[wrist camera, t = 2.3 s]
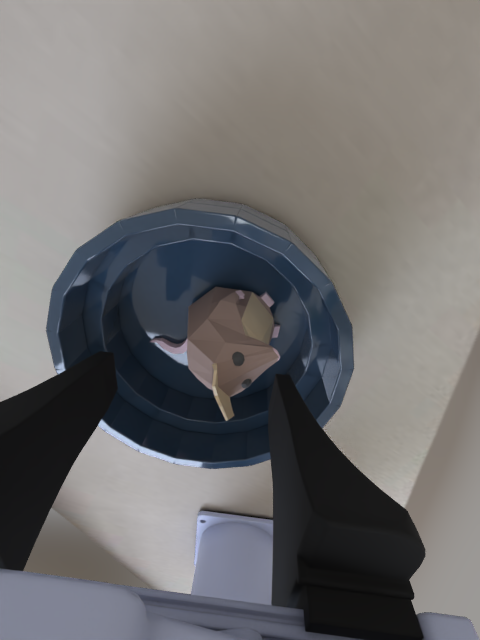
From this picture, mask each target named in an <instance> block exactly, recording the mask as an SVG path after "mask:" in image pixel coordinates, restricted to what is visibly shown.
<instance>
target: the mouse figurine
mask: <svg viewBox="0 0 480 640" xmlns="http://www.w3.org/2000/svg"><path fill="white" fill-rule="evenodd" d="M273 304H274V301H273V299H272V298H271V297H270V296H269V295H268V293H267V292H265V293H263V294H262V295H261V296H258V295H256V294H255V293H253V292H250V291H243V290H236V289H228V288H221V287H215V288H213V289H212V290H210V291H209V292H208V293H206V294H205V295H204V296H202V297H201V298H200V299H198V300H197V301H196V302H194V303H193V304H192V305H190V306H189V311H188V334H187V339H186V340H185V341H184V342H182V343H180V344H175V343H172V342H170V341H168V340H166V339H164V338H154V339H152V340H151V341H150V342H151V343H152V342H156V343H158V344H159V345H160V346H161V347H162V348H163V349H165V350H167V351H169V352H171V353H173V354H180V353H184V352H186V351H187V359H188V368H189V369H190V371H191V372H192V373H193V374H194V375H195V376H196V378H197V379H198V380H200V381H201V382H202V383H203V384H204V385H205V386H206V387H207V388H209V389H211V390H213V394H214V397H215V399H216V401H217V403H218V405H219V408H220V410H221V412H222V414H223V416H224V418H225V420H226V421H227V420H229V419H230V418H232V417H233V416H234V413H233V410H232V406H231V401H230V397H232V396H234V395H236V394H238V393H240V392H242V391H243V390H244V389H246V388H248V387H249V386H250V385H251V383H252V382H253V381H254V380H255V379H256V378H258V377H259V376H260V375H261V374H262V373H263V372H264V371H265V370H266V369H268V368H269V367H270V366H272V365H273V364H274V363H276V362H277V361H278V360H279V359H280V355H279V353H278V351H277V350H276V349H275V348H273V347H272V346H270V345H269V344H270V341H271V339H272V338H277V337H278V333H279V329H280V325H277V324H274V318H273V315H272V313H271V310H270V307H271V306H272V305H273Z"/></svg>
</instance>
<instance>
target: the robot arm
mask: <svg viewBox="0 0 480 640" xmlns="http://www.w3.org/2000/svg"><path fill="white" fill-rule="evenodd" d="M117 389H118V387H117V378H116V369H115V360H114V353H111V352H103V351H99V352H97V353H95V354H94V355H92V356H90V357H88V358H86V359H85V360H83V361H81V362H79V363H78V364H76V365H74V366H72V367H71V368H69V369H67V370H65V371H63V372H62V373H60V374H58V375H56V376H54V377H52V378H50V379H49V380H47V381H45V382H43V383H41V384H39V385H37V386H35V387H33V388H31V389H29V390H27V391H25V392H22V393H20V394H18V395H16V396H13V397H11V398H9V399H6V400H4V401H2V402H0V640H480V639H479V637H478V635H477V633H476V631H475V629H474V626H473V624H472V622H471V620H469V619H468V618H467V617H461V616H454V615H447V614H439V613H432V612H424V613H419V614H417V615H416V614H415V611H414V608H413V605H412V602H411V600H413V599H414V592H413V589H412V587H411V584H410V581H409V579H410V578H411V577H412V575H413V574H414V573H415V572H416V570H417V569H418V568H419V567H420V565H421V564H422V562H423V560H424V558H425V548H424V545H423V543H422V540H421V538H420V536H419V533H418V531H417V529H416V527H415V525H414V523H413V522H412V519H411V517H410V515H409V513H408V511H407V510H406V509H405V508H403V507H402V506H401V505H400V504H398V503H397V502H396V501H394V500H393V499H392V498H391V497H389V496H388V495H387V494H386V493H384V492H383V491H382V490H381V489H379V488H378V487H377V486H376V485H375V484H374V483H373V482H371V481H370V480H369V479H368V478H367V477H366V476H365V475H364V474H363V473H362V472H360V471H359V470H358V469H357V468H356V467H355V466H354V465H353V464H352V463H351V462H350V461H349V460H348V459H347V457H346V456H345V455H344V454H343V453H342V452H341V451H340V450H339V449H338V448H337V447H336V445H335V444H334V443H333V442H332V441H331V439H330V438H329V437H328V436H327V434H326V433H325V432H324V430H323V429H322V428H321V426H320V425H319V424H318V422H317V421H316V419H315V418H314V416H313V415H312V413H311V412H310V410H309V409H308V407H307V405H306V404H305V402H304V400H303V399H302V397H301V395H300V393H299V392H298V390H297V388H296V386H295V384H294V382H293V380H292V378H291V377H290V375H282V374H276V375H275V380H274V384H273V389H272V394H271V399H270V404H269V412H268V435H269V446H270V457H271V467H272V478H273V520H269V519H261V518H254V517H247V516H239V515H232V514H224V513H217V512H209V511H200V512H199V513H198V518H197V532H196V547H195V561H194V565H195V566H196V567H195V573H194V579H193V585H192V591H191V594H184V593H177V592H169V591H162V590H154V589H147V588H139V587H132V586H125V585H117V584H110V583H106V582H99V581H92V580H84V579H76V578H69V577H62V576H55V575H47V574H40V573H33V572H25V571H23V569H24V567H25V565H26V562H27V560H28V558H29V556H30V553H31V550H32V548H33V546H34V544H35V541H36V539H37V537H38V535H39V533H40V530H41V528H42V526H43V524H44V522H45V520H46V517H47V515H48V513H49V511H50V509H51V507H52V505H53V503H54V501H55V499H56V497H57V495H58V492H59V490H60V488H61V486H62V484H63V483H64V481H65V479H66V477H67V475H68V473H69V471H70V469H71V467H72V465H73V463H74V462H75V460H76V458H77V457H78V455H79V453H80V452H81V450H82V449H83V447H84V446H85V444H86V443H87V441H88V440H89V438H90V437H91V435H92V433H93V432H94V430H95V429H96V427H97V426H98V424H99V423H100V421H101V420H102V418H103V416H104V415H105V413H106V412H107V410H108V408H109V406H110V404H111V402H112V400H113V398H114V396H115V394H116V392H117Z"/></svg>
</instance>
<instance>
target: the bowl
mask: <svg viewBox="0 0 480 640" xmlns="http://www.w3.org/2000/svg"><path fill="white" fill-rule="evenodd" d="M215 287H221V288H228V289H236V290H243V291H250V292H253V293H255V294H256V295H258V296H261V295H262V294H263V293H265V292H267V293H268V295H269V296H270V297H271V298H272V299H273V301H274V304H273V305H272V306H271V307H270V310H271V313H272V315H273V318H274V324H277V325H280V329H279V333H278V337H277V338H272V339H271V341H270V344H269V345H270V346H272V347H273V348H275V349H276V350H277V351H278V353H279V355H280V359H279V360H278V361H277V362H276V363H274V364H273V365H272V366H270V367H269V368H268V369H266V370H265V371H264V372H263V373H262V374H261V375H260V376H259V377H258V378H256V379H255V380H254V381H253V382H252V383H251V385H250V386H249V387H248V388H246V389H244V390H243V391H242V392H240V393H238V394H236V395H234V396H232V397H230V401H231V406H232V410H233V413H234V416H233V417H232V418H230V419H229V420H227V421H226V420H225V418H224V416H223V414H222V412H221V410H220V408H219V405H218V403H217V401H216V399H215V397H214V394H213V390H211V389H209V388H207V387H206V386H205V385H204V384H203V383H202V382H201V381H200V380H198V379H197V378H196V376H195V375H194V374H193V373H192V372H191V371H190V369H189V368H188V359H187V351H186V352H184V353H180V354H173V353H171V352H169V351H167V350H165V349H163V348H162V347H161V346H160V345H159V344H158V343H156V342H152V343H151V342H150V341H151V340H152V339H154V338H164V339H166V340H168V341H170V342H172V343H175V344H180V343H182V342H184V341H185V340H186V339H187V334H188V311H189V306H190V305H192V304H193V303H194V302H196V301H197V300H198V299H200V298H201V297H202V296H204V295H205V294H206V293H208V292H209V291H210V290H212V289H213V288H215ZM46 332H47V337H48V341H49V346H50V350H51V354H52V359H53V363H54V367H55V370H56V372H57V374H60V373H62V372H63V371H65V370H67V369H69V368H71V367H72V366H74V365H76V364H78V363H79V362H81V361H83V360H85V359H86V358H88V357H90V356H92V355H94V354H95V353H97V352H99V351H103V352H111V353H114V360H115V369H116V378H117V387H118V389H117V392H116V394H115V396H114V398H113V400H112V402H111V404H110V406H109V408H108V410H107V412H106V413H105V415H104V416H103V418H102V420H101V421H100V423H99V424H98V426H99V427H100V428H101V429H102V430H104V431H105V432H106V433H108V434H110V435H111V436H113V437H115V438H116V439H118V440H120V441H121V442H123V443H125V444H126V445H128V446H129V447H131V448H133V449H134V450H136V451H138V452H141V453H144V454H147V455H150V456H152V457H155V458H158V459H161V460H164V461H167V462H170V463H173V464H178V465H185V466H193V467H200V468H208V469H219V468H231V467H244V466H249V465H250V466H252V465H255V464H258V463H261V462H264V461H267V460H270V459H271V457H270V446H269V435H268V412H269V404H270V399H271V394H272V389H273V384H274V380H275V375H276V374H282V375H290V377H291V378H292V380H293V382H294V384H295V386H296V388H297V390H298V392H299V393H300V395H301V397H302V399H303V400H304V402H305V404H306V405H307V407H308V409H309V410H310V412H311V413H312V415H313V416H314V418H315V419H316V421H317V422H318V424H319V425H320V426H321V428H323V427H324V426H325V424H326V423H327V422H328V421H329V420H330V419H331V417H332V416H333V415H334V414H335V413H336V411H337V410H338V409H339V408H340V406H341V404H342V401H343V398H344V395H345V392H346V390H347V387H348V384H349V381H350V378H351V376H352V373H353V369H354V356H353V333H352V324H351V322H350V320H349V318H348V316H347V314H346V311H345V309H344V307H343V305H342V303H341V300H340V298H339V296H338V294H337V292H336V289H335V287H334V285H333V283H332V281H331V280H330V278H329V276H328V275H327V273H326V271H325V270H324V268H323V267H322V265H321V263H320V262H319V260H318V259H317V257H316V256H315V254H314V253H313V252H312V251H311V250H310V249H309V248H308V247H307V246H306V245H305V244H304V243H303V242H302V241H301V240H300V239H299V238H298V237H297V236H296V235H295V234H294V233H293V232H292V231H291V230H290V229H289V228H288V227H287V226H286V225H284V224H283V223H282V222H280V221H278V220H276V219H274V218H271V217H269V216H267V215H265V214H263V213H261V212H259V211H257V210H255V209H253V208H251V207H249V206H247V205H245V204H241V203H233V202H225V201H217V200H209V199H201V198H198V199H196V198H195V199H190V200H186V201H182V202H177V203H173V204H168V205H164V206H159V207H155V208H152V209H150V210H147V211H144V212H141V213H138V214H136V215H133V216H130V217H127V218H124V219H122V220H120V221H117V222H116V223H114V224H113V225H111V226H110V227H108V228H107V229H105V230H104V231H102V232H101V233H100V234H98V235H97V236H95V237H94V238H92V239H91V240H89V241H88V242H86V243H85V244H83V245H82V246H80V247H79V248H78V249H77V250H76V251H75V252H74V254H73V255H72V257H71V259H70V260H69V262H68V263H67V265H66V267H65V268H64V270H63V271H62V273H61V275H60V276H59V278H58V279H57V281H56V283H55V284H54V286H53V289H52V292H51V299H50V306H49V312H48V319H47V326H46Z"/></svg>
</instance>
